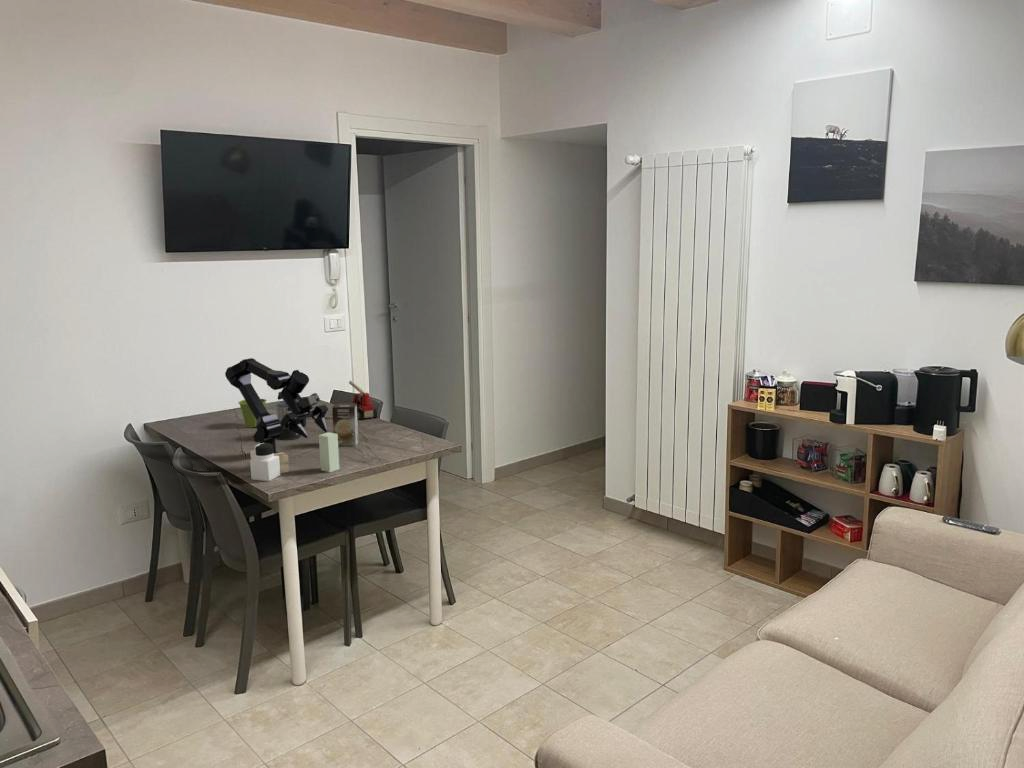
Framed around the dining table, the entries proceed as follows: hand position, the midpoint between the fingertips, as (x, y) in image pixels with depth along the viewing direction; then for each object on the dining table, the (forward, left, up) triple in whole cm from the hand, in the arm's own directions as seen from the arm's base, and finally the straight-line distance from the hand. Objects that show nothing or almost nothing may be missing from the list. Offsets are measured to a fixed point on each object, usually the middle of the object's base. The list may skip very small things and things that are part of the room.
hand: (317, 434), depth 275 cm
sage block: (+5, +3, -12) cm, 14 cm away
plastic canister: (-5, -21, -12) cm, 25 cm away
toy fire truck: (-72, +26, -13) cm, 78 cm away
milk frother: (-51, -9, -12) cm, 53 cm away
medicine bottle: (+6, -19, -12) cm, 23 cm away
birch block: (0, -14, -12) cm, 18 cm away
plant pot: (-72, -21, -12) cm, 76 cm away
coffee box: (-27, +13, -12) cm, 33 cm away
